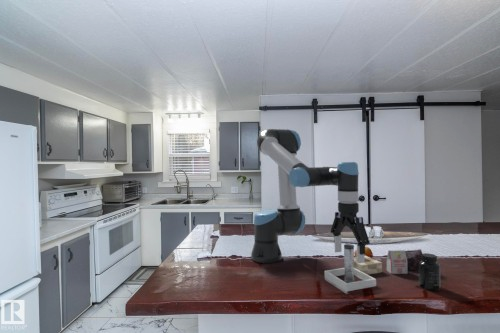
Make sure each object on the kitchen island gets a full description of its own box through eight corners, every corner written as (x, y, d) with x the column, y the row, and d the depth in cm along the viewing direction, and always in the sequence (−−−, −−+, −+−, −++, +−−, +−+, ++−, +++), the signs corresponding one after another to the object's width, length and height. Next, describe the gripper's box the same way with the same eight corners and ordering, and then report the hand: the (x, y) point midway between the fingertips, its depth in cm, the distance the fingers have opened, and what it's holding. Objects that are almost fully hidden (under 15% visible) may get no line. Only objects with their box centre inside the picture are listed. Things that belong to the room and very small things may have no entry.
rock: (394, 268, 130) (405, 276, 120) (391, 249, 130) (401, 256, 120) (421, 264, 130) (434, 272, 120) (417, 245, 130) (430, 251, 120)
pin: (342, 280, 113) (342, 244, 113) (350, 279, 114) (349, 243, 114) (348, 284, 109) (347, 247, 109) (356, 282, 111) (355, 246, 111)
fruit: (378, 261, 132) (369, 246, 133) (363, 269, 133) (353, 254, 134) (374, 256, 140) (365, 241, 140) (360, 263, 141) (351, 249, 142)
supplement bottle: (414, 284, 111) (414, 252, 111) (431, 283, 111) (431, 251, 111) (427, 291, 104) (426, 258, 104) (445, 290, 104) (444, 257, 104)
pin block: (346, 269, 127) (346, 258, 127) (365, 266, 130) (365, 255, 130) (362, 277, 117) (362, 265, 117) (382, 274, 120) (381, 262, 120)
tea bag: (386, 272, 122) (386, 249, 122) (402, 272, 122) (402, 249, 122) (391, 276, 119) (390, 251, 118) (407, 276, 119) (407, 251, 118)
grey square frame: (324, 279, 116) (324, 270, 116) (351, 275, 120) (351, 266, 120) (346, 294, 103) (346, 284, 103) (376, 288, 107) (376, 279, 107)
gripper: (380, 205, 101) (380, 266, 101) (337, 197, 125) (337, 247, 125) (362, 207, 98) (362, 269, 99) (321, 198, 122) (322, 249, 122)
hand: (348, 257), depth 112 cm, fingers open, 13 cm apart
